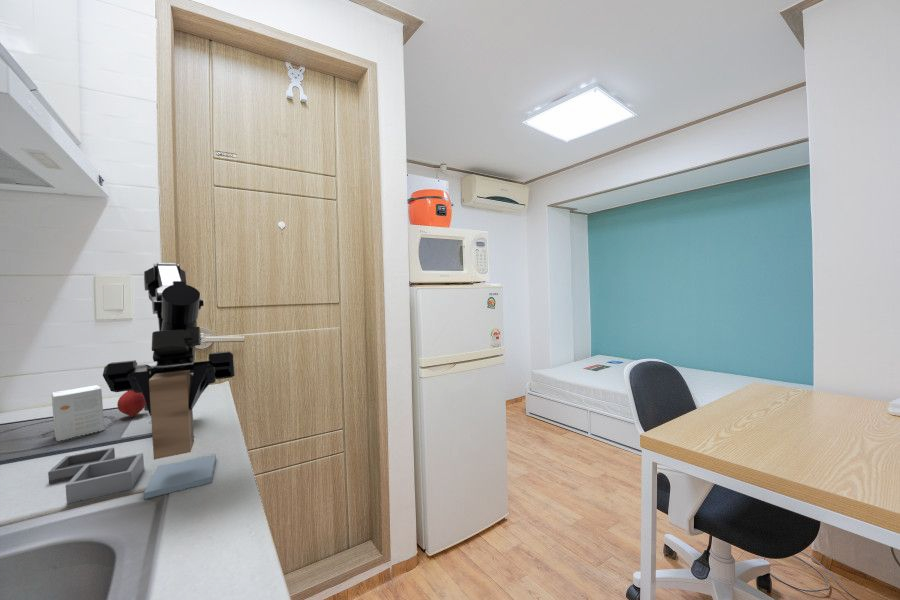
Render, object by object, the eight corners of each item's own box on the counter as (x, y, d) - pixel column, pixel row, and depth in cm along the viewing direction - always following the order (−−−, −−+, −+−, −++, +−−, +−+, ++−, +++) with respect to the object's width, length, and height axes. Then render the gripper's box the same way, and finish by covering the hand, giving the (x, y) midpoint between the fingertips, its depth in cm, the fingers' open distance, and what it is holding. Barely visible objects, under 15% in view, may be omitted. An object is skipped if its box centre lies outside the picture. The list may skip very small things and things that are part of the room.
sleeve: (86, 480, 63) (85, 464, 63) (144, 468, 67) (143, 452, 67) (66, 503, 56) (65, 485, 56) (132, 488, 60) (131, 471, 60)
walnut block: (160, 448, 64) (155, 373, 63) (194, 441, 66) (190, 369, 66) (153, 459, 60) (148, 379, 59) (190, 452, 62) (186, 375, 61)
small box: (101, 425, 90) (98, 384, 90) (105, 430, 87) (102, 387, 86) (54, 436, 84) (51, 392, 83) (56, 442, 80) (52, 396, 80)
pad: (157, 471, 66) (157, 466, 66) (216, 458, 70) (215, 453, 70) (144, 499, 57) (143, 492, 57) (211, 482, 61) (211, 476, 61)
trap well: (66, 466, 69) (65, 456, 69) (114, 457, 72) (114, 447, 72) (48, 483, 63) (48, 472, 63) (102, 472, 66) (101, 461, 66)
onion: (132, 412, 99) (131, 384, 99) (152, 412, 99) (151, 383, 99) (112, 420, 93) (110, 390, 93) (133, 420, 93) (131, 389, 93)
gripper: (102, 316, 61) (80, 397, 52) (230, 310, 70) (231, 378, 61) (120, 354, 68) (103, 431, 59) (234, 344, 77) (235, 409, 68)
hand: (171, 411), depth 61 cm, fingers closed on walnut block, 5 cm apart
